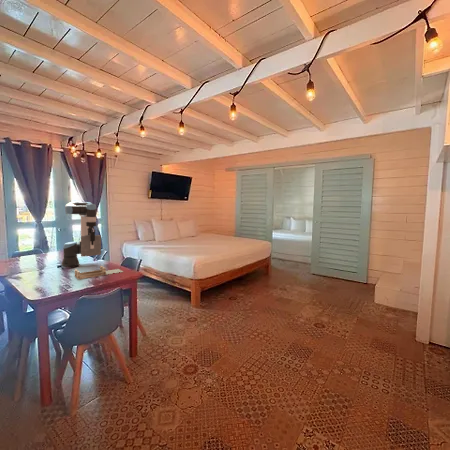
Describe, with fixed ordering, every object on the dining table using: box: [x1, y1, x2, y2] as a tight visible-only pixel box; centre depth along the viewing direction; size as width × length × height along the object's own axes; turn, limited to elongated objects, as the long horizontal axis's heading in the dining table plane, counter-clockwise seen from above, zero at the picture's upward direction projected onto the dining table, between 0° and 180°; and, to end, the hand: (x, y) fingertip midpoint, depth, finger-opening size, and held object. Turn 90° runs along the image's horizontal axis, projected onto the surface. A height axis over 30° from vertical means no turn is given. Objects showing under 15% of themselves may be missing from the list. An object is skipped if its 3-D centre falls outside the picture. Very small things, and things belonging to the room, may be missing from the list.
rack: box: [74, 265, 107, 280], centre depth 212 cm, size 10×22×6 cm, turn 135°
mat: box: [106, 268, 124, 275], centre depth 225 cm, size 12×15×1 cm
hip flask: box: [80, 233, 102, 257], centre depth 210 cm, size 16×4×20 cm, turn 135°
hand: (91, 248), depth 211 cm, fingers closed on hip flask, 4 cm apart
